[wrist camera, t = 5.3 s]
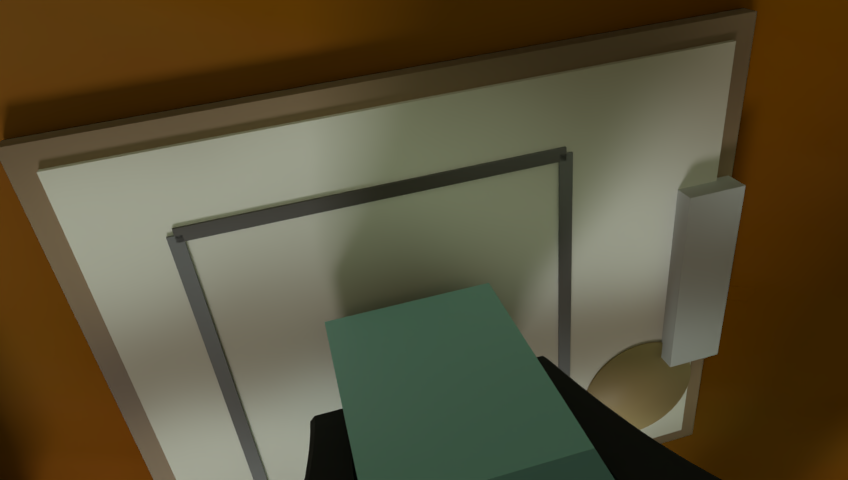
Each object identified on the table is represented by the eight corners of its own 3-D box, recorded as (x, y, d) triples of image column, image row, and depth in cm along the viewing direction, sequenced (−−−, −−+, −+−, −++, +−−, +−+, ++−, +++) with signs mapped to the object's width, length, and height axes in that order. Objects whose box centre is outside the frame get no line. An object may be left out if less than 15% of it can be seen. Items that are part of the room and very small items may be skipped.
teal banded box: (496, 403, 16) (622, 652, 11) (352, 442, 15) (412, 725, 10) (488, 282, 14) (636, 513, 9) (324, 321, 13) (381, 593, 8)
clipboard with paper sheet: (684, 424, 20) (704, 448, 19) (202, 567, 17) (201, 602, 17) (743, 8, 14) (777, 16, 13) (2, 139, 11) (-18, 161, 10)
